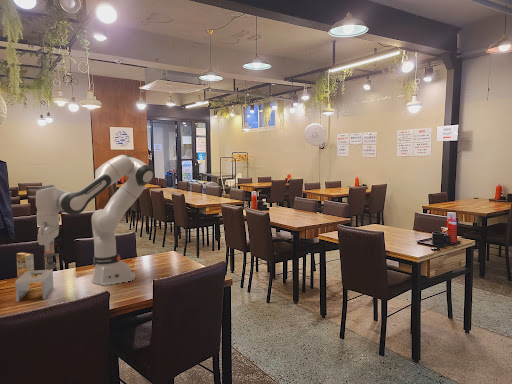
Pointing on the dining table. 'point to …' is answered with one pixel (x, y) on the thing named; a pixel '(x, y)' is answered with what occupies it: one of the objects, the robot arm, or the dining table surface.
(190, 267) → the dining table surface
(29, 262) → the candy box
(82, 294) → the dining table surface
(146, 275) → the dining table surface
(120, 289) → the dining table surface
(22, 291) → the grey bridge stand
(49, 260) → the pink-topped grey pedestal
